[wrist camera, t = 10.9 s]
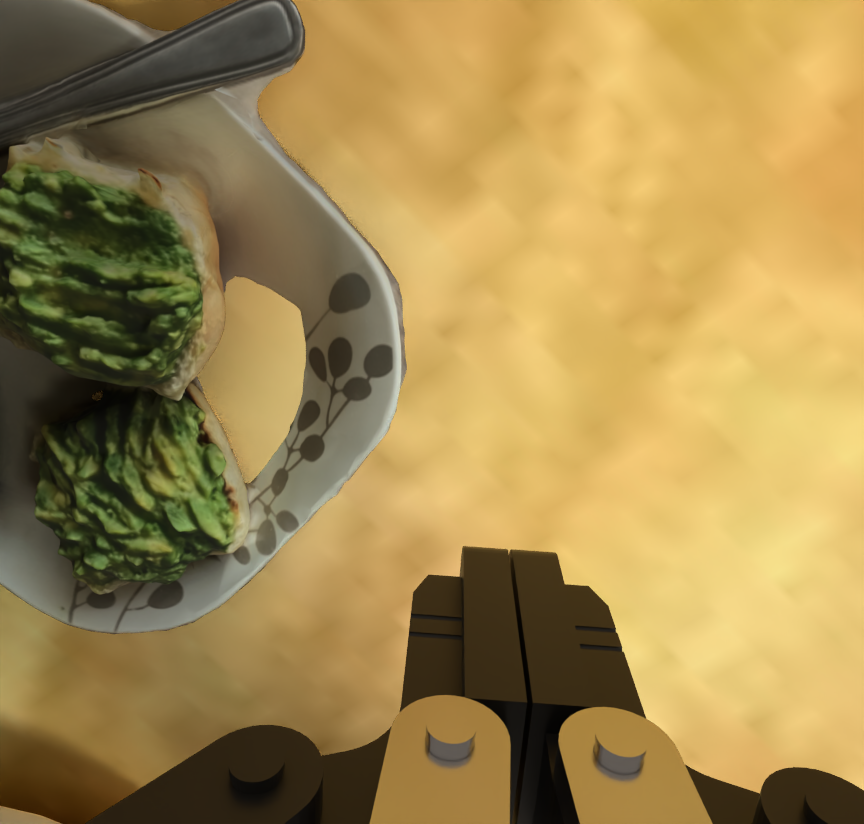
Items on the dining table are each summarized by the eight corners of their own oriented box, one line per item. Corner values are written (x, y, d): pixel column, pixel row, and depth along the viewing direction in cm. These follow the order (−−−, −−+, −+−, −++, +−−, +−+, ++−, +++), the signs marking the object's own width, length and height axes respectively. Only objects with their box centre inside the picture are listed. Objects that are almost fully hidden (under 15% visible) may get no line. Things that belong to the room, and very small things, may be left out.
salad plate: (58, -252, 17) (-80, -388, 13) (559, 283, 21) (583, 317, 17) (-297, 309, 23) (-481, 346, 18) (154, 660, 26) (91, 761, 22)
